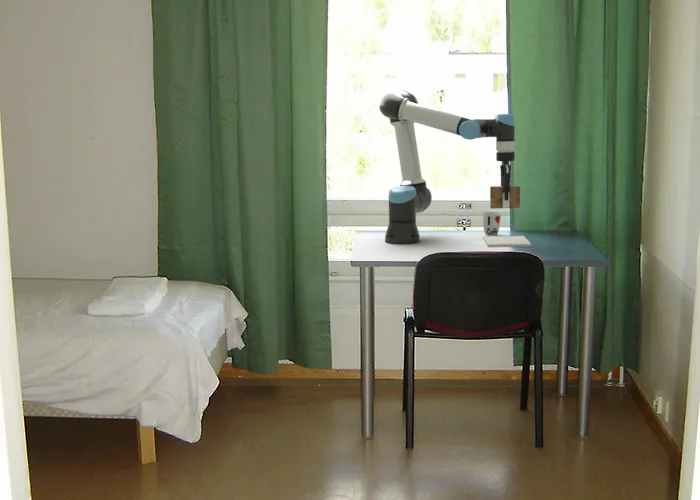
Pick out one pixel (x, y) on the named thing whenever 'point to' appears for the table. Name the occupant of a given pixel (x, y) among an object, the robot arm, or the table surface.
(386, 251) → the table surface
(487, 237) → the mat
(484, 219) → the cup
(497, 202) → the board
